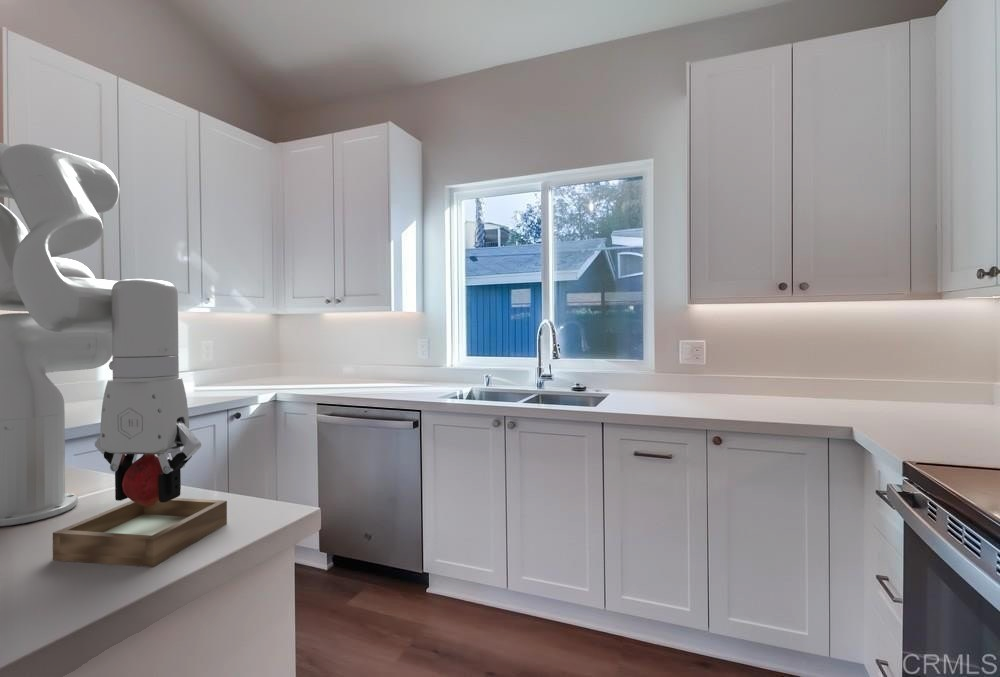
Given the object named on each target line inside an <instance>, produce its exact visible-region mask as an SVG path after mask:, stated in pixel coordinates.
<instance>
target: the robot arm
mask: <svg viewBox="0 0 1000 677" xmlns="http://www.w3.org/2000/svg"><path fill="white" fill-rule="evenodd" d="M0 197H1V198H8V199H11V200H14V202H15V204H16V206H17V208H18V211H19V212H20V215H21V216H22V217H23V220H24V222H25V223H26V225H27V228H28V230H29V232H28V230H27V228H26V226H25V225H24V224H23V223H22V222H21V220H20V219H19V218H18V217H17V215H15V214H14V212H12V211H11V210H10V209H9V208H8V207H6V206H5V205H4V204H2V203H1V202H0V311H6V312H8V311H9V312H11V313H2V314H1V313H0V527H6V526H14V525H21V524H22V525H23V524H26V523H32V522H35V521H36V522H37V521H40V520H45V519H48V518H51V517H55V516H58V515H60V514H64V513H65V512H67V511H69V510H72V509H73V508H75V507H76V506H77V505H78V503H79V500H78V498H79V497H78V495H76V494H75V493H72V492H66V436H65V435H66V434H65V433H66V430H65V429H66V427H65V426H66V424H65V423H66V419H65V416H66V413H65V412H66V411H65V399H64V396H63V393H62V392H61V390H59V388H58V387H57V386H56V385H55V384H54V383H53V382H52V380H50V378H49V377H48V376H47V373H48V374H49V373H54V372H56V373H57V372H71V371H83V370H90V369H97V368H100V367H102V366H104V365H106V364H107V363H108V362H109V361H110V360H111V358H112V361H110V362H109V364H108V368H109V369H110V370H111V371H112V379H108V380H107V383H106V385H105V389H104V394H103V398H102V403H101V404H102V405H101V412H100V414H101V415H100V426H99V427H100V430H99V431H100V432H99V437H97V439H96V441H95V442H94V446H95V448H96V449H97V450H98V451H99V452H100V453H101V454H102V455H103V459H105V460H106V462H107V463H108V464H109V470H110V471H111V472H113V473H114V491H115V492H114V494H115V495H114V498H115V501H118V502H120V501H121V502H122V501H124V500H127V499H129V498H128V497H127V496H126V495H125V493H124V492H123V487H122V482H123V478H124V475H125V473H126V471H127V470H128V468H129V467H130V466H131V465H132V464H133V463H134V462H135V461H136V460H137V456H138V455H143V454H155V455H156V456H157V457H158V459H159V462H160V464H161V467H162V470H163V473H160V474H159V477H158V478H159V501H160V502H162V503H165V502H167V501H170V500H172V499H174V498H180V496H181V487H182V486H181V484H182V482H181V476H182V475H181V472H182V471H181V469H184V468H185V466H186V464H187V463H188V461H190V460H191V459H192V457H193V455H195V454H196V453H197V452H198V451H199V450H200V449H201V447H202V443H201V441H200V440H199V439H198V438H197V437H196V435H195V434H193V432H192V431H191V430H190V418H189V416H190V415H189V408H188V400H187V393H186V388H185V384H184V382H183V381H184V380H183V378H181V377H180V373H179V372H180V371H179V370H180V368H179V367H180V366H179V363H180V362H179V361H180V360H179V358H180V357H179V352H180V351H179V300H178V299H179V298H178V295H179V294H178V290H177V287H176V286H175V285H174V284H173V283H171V282H169V281H166V280H158V279H148V278H147V279H145V278H126V279H121V280H109V279H102V278H100V279H99V278H96V276H95V275H94V273H93V271H91V270H90V269H89V267H88V266H87V265H85V264H83V263H82V262H79V261H77V260H74V259H70V258H66V257H65V258H64V257H60V256H63V255H67V254H72V253H75V252H78V251H81V250H84V249H87V248H88V247H91V246H93V244H95V243H97V241H98V240H99V239H100V238H101V237H102V236H103V232H104V224H103V221H102V219H101V218H100V215H99V214H101V213H105V212H109V211H110V210H112V209H114V207H115V206H116V205H117V204H118V200H119V197H120V185H119V182H118V180H117V178H116V176H115V174H114V173H113V172H112V170H111V169H109V167H107V166H106V165H105V164H104V163H101V161H100V162H99V161H97V160H94V159H91V158H88V157H84V156H80V155H77V154H73V153H70V152H68V151H67V152H66V151H63V150H60V149H57V148H53V147H49V146H45V145H40V144H33V143H21V144H20V143H19V144H14V145H11V144H7V143H3V142H0ZM12 312H14V313H12ZM16 312H17V313H16ZM182 447H183V448H182ZM181 448H182V450H181ZM170 457H171V458H170Z"/></svg>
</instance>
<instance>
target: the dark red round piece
mask: <svg viewBox="0 0 1000 677" xmlns="http://www.w3.org/2000/svg"><path fill="white" fill-rule="evenodd" d="M160 473H163V470H162V467H161V464H160V462H159V459H158V456H157V455H156V454H142V455H141V457H140V458H138V459H136V460H135V462H134V463H133V464H132V465H131V466H130V467H129V468H128V470H127V471H126V473H125V475H124V478H123V482H122V487H123V492H124V493H125V495H126V496H127V497H128V498H127V499H129V500H130V501H133V502H135V503H138V504H140V505H143V506H145V507H151V506H153V505H154V504H156V502H157V501H158V500H159V478H158V477H159V474H160Z"/></svg>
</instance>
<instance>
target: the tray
mask: <svg viewBox="0 0 1000 677" xmlns="http://www.w3.org/2000/svg"><path fill="white" fill-rule="evenodd" d="M227 524H228V501H227V500H222V499H221V500H219V499H206V498H205V499H204V498H203V499H202V498H184V497H176V498H174V499H172V500H170V501H167V502H165V503H162V502H160V501H159V500H158V501H157V502H156V504H154V505H153V506H151V507H145V506H143V505H140V504H138V503H135V502H133V501H132V500H129V501H127V502H124V503H122V504H120V505H118V506H116V507H113V508H110V509H108V510H105V511H103V512H100V513H98V514H95V515H93V516H90V517H88V518H86V519H83V520H81V521H79V522H76V523H73V524H71V525H69V526H66V527H64V528H62V529H59V530H58V529H57V530H56V531H54V532H52V561H63V562H75V563H76V562H79V563H87V564H88V563H90V564H102V565H103V564H105V565H118V566H119V565H120V566H132V567H133V566H134V567H146V568H154V567H156V566H158V565H159V564H161V563H163V562H165V561H166V560H168V559H170V558H171V557H173V556H175V555H176V554H178V553H179V552H181V551H183V550H184V549H187V548H188V547H189V546H191V545H193V544H194V543H197V542H198V541H200V540H201V539H203V538H205V537H206V536H208V535H210V534H212V533H213V532H216V531H217V530H219V529H221V528H222V527H223V526H225V525H227Z"/></svg>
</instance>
